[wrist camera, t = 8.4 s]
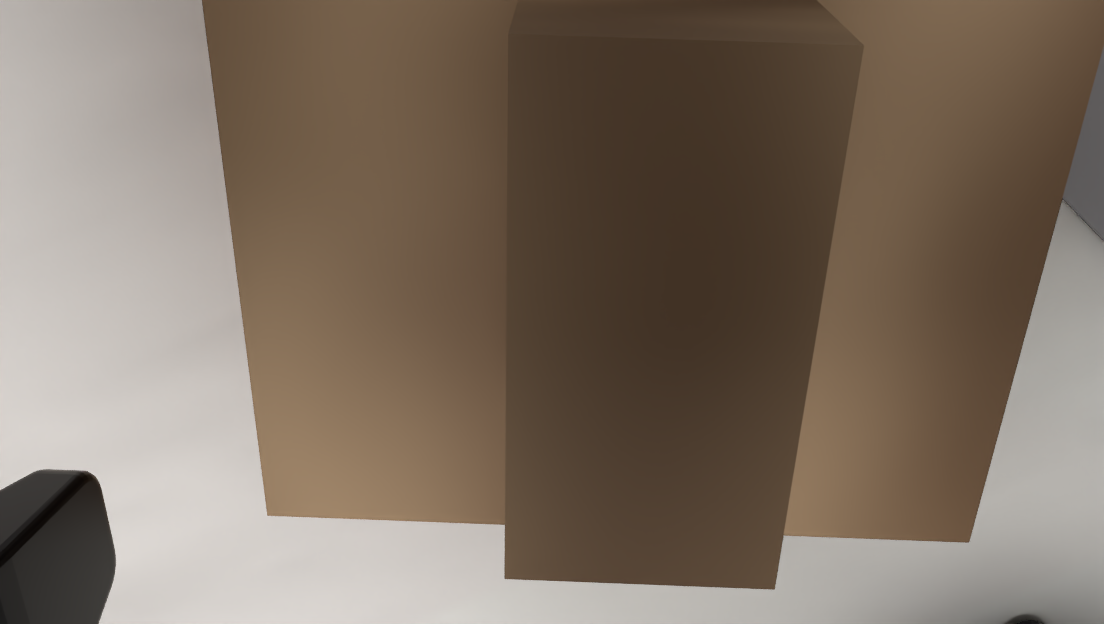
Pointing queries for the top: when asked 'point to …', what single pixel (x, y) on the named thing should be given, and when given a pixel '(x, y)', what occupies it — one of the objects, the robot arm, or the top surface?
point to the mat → (1090, 161)
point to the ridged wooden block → (643, 263)
